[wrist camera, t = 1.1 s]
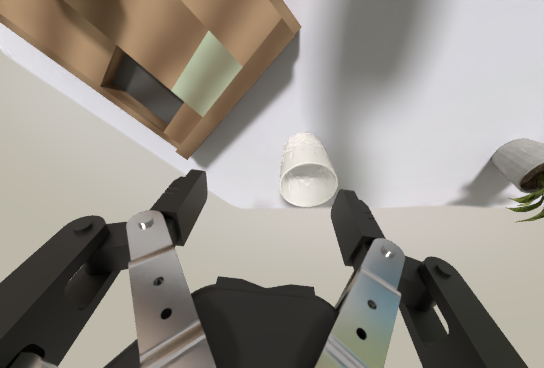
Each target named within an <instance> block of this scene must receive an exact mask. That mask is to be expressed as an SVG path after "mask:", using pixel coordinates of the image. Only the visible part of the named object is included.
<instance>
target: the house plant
mask: <svg viewBox="0 0 544 368" xmlns="http://www.w3.org/2000/svg"><path fill="white" fill-rule="evenodd" d="M492 163H493V164H494V165H495V166H496V167H497V168H498V169H499V170H500V171H501V172H502V173H503V174H504V175H505V176H506V177H507V178H508V179H509V180H510V181H511V182H512V183H513V184H514V185H515V186H516V187H517V188H518V189H519V190H520V191H521V192H524V193H532V194H529V195H527V196H524V197H521V198H516V199H512V200H514V201H517V202H519V203H524V204H521V205H517V206H524V207H519V208H509V209H510V210H513V211H516V212H527V211H530V210H533V209H535V208H538V207H539V206H540V205H541V204H542V202H543V200H544V194H543V193H544V144H543V143H540V142H536V141H533V140H529V139H517V140H514V141H511V142H509V143H506V144H505V145H503V146H502V147H500V148H499V149H498V150H497V151H496V152H495V153H494V155H493V157H492ZM541 195H542V198H541V200H540V201H539V202H538V203H536V204H533V205H529V204H531V203H532V201H534V200H535V199H537V198H539V197H540V196H541ZM508 199H509V198H508ZM527 202H528V203H527ZM525 205H529V206H525ZM505 208H506V207H505ZM543 217H544V209H543V210H542V212H541V213H539V214H538V215H536V216H534V217H532V218H530V219H527V220H522V221H533V220H536V219H540V218H543ZM522 221H518V222H522Z"/></svg>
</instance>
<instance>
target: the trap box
mask: <svg viewBox="0 0 544 368" xmlns="http://www.w3.org/2000/svg"><path fill="white" fill-rule="evenodd" d="M0 23H2V24H3V25H5V26H6V27H7V28H9V29H10V30H12V31H13V32H14V33H16V34H17V35H19V36H20V37H21V38H23V39H24V40H26V41H27V42H28V43H30V44H31V45H33V46H34V47H35V48H37V49H38V50H40V51H41V52H42V53H44V54H45V55H47V56H48V57H49V58H51V59H52V60H54V61H55V62H57V63H58V64H59V65H61V66H62V67H64V68H65V69H66V70H68V71H69V72H71V73H72V74H73V75H75V76H76V77H78V78H79V79H80V80H82V81H83V82H85V83H86V84H87V85H89V86H90V87H92V88H93V89H94V90H96V91H97V92H99V93H100V94H101V95H103V96H104V97H106V98H107V99H108V100H110V101H111V102H113V103H114V104H115V105H117V106H118V107H120V108H121V109H122V110H124V111H125V112H127V113H128V114H129V115H131V116H132V117H134V118H135V119H136V120H138V121H139V122H141V123H142V124H143V125H145V126H146V127H148V128H149V129H150V130H152V131H153V132H155V133H156V134H157V135H159V136H160V137H162V138H163V139H164V140H166V141H167V142H169V143H170V144H171V145H173V146H174V147H176V148H177V150H176V152H177V153H178V154H180V155H181V156H182V157H184V158H185V159H187V160H188V158H189V157H190V156H191V155H192V154H193V153H194V152H195V150H196V149H197V148H198V147H199V146H200V145H201V144H202V142H203V141H204V140H205V139H206V138H207V137H208V135H209V134H210V133H211V132H212V131H213V130H214V129H215V127H216V126H217V125H218V124H219V123H220V122H221V121H222V119H223V118H224V117H225V116H226V115H227V114H228V112H229V111H230V110H231V109H232V108H233V107H234V106H235V104H236V103H237V102H238V101H239V100H240V99H241V98H242V96H243V95H244V94H245V93H246V92H247V91H248V90H249V88H250V87H251V86H252V85H253V84H254V83H255V81H256V80H257V79H258V78H259V77H260V76H261V75H262V73H263V72H264V71H265V70H266V69H267V68H268V67H269V65H270V64H271V63H272V62H273V61H274V60H275V58H276V57H277V56H278V55H279V54H280V53H281V52H282V50H283V49H284V48H285V47H286V46H287V45H288V44H289V42H290V41H291V40H292V39H293V38H294V37H295V34H296V33H297V31H298V30H299V29H300V28H301V25H300V24H299V23H298V21H297V20H296V18H295V17H294V15H293V14H292V13H291V11H290V10H289V8H288V7H287V5H286V4H285V3H284V1H283V0H0Z"/></svg>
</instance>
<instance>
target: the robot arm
mask: <svg viewBox="0 0 544 368" xmlns="http://www.w3.org/2000/svg"><path fill="white" fill-rule="evenodd" d="M206 200H207V179H206V172H205V171H201V170H193V169H192V170H190V172H189V173H188V174H187V175H186V177H180V178H178V179H176V180H174V181H173V182H172V183H171V185H170V186H169V188H167V189H166V191H165V193H163V194H162V195H161V197H160V198H159V199H158V200H157V202H156V203H155V204H154V205H153V207H152V208H151V209H150V210H149V211H143V212H140V213H138V214H136V215H134V216H132V218H130V219H129V220H128V222H121V223H112V224H106V223H105V220H104V219H103V218H102V217H100V216H86V217H82V218H79V219H76V220H74V221H72V222H70V223H68V224H67V225H66V226H64V227H63V228H62V229H61V230H60V231H59V232H57V233H56V234H55V235H54V236H53V237H52V238H51V239H50V240H49V241H47V242H46V243H45V244H44V245H43V246H42V247H41V248H39V249H38V250H37V251H36V252H35V253H34V254H33V255H31V256H30V257H29V258H28V259H27V260H26V261H25V262H23V263H22V264H21V265H20V266H19V267H18V268H17V269H16V270H14V271H13V272H12V273H11V274H10V275H9V276H8V277H6V278H5V279H4V280H3V281H2V282H1V283H0V368H58V365H59V364H60V362H61V361H62V359H63V358H64V356H65V355H66V353H67V352H68V350H69V349H70V347H71V346H72V344H73V343H74V341H75V340H76V338H77V337H78V335H79V333H80V332H81V330H82V329H83V327H84V326H85V324H86V323H87V321H88V320H89V318H90V317H91V315H92V314H93V312H94V311H95V309H96V308H97V306H98V305H99V303H100V301H101V300H102V298H103V297H104V295H105V294H106V292H107V291H108V289H109V288H110V286H111V285H112V283H113V282H114V280H115V278H116V277H117V275H118V274H119V273H120V271H121V270H124V269H129V276H130V283H131V292H132V299H133V308H134V315H135V323H136V331H137V340H135V341H134V342H133V343H132V344H131V345H129V346H128V347H127V348H126V349H125V350H124V351H122V352H121V353H120V354H119V355H118V356H116V357H115V358H114V359H113V360H112V361H111V362H109V363H108V364H107V365H106V366H105V367H104V368H384V364H385V360H386V356H387V352H388V348H389V344H390V339H391V335H392V332H393V327H394V323H395V319H396V315H397V311H398V307H399V309H400V311H401V314H402V316H403V319H404V321H405V324H406V326H407V328H408V331H409V334H410V336H411V339H412V341H413V344H414V346H415V349H416V351H417V354H418V356H419V359H420V361H421V363H422V366H423V368H528V367H527V365H526V364H525V362H524V361H523V360H522V358H521V357H520V356H519V354H518V353H517V352H516V350H515V349H514V347H513V346H512V345H511V343H510V342H509V341H508V339H507V338H506V337H505V335H504V334H503V332H502V331H501V330H500V328H499V327H498V326H497V324H496V323H495V322H494V320H493V319H492V318H491V316H490V315H489V313H488V312H487V311H486V309H485V308H484V307H483V305H482V304H481V303H480V301H479V300H478V299H477V297H476V296H475V294H474V293H473V292H472V290H471V289H470V288H469V286H468V285H467V283H466V282H465V281H464V279H463V278H462V277H461V275H460V274H459V273H458V271H457V270H456V269H455V268H454V267H453V266H451V265H450V264H449V263H447V262H446V261H444V260H442V259H440V258H437V257H427V258H426V259H425V260H424V261H423V262H421V261H418V260H415V259H413V258H410V257H407V256H405V255H404V253H403V251H402V250H401V249H400V247H399V246H397V245H396V244H395V243H393V242H392V241H389V240H387V239H386V238H385V237H384V235H383V233H382V231H381V229H380V227H379V226H378V224H377V222H376V221H375V220H374V219H375V218H374V217H373V215H372V214H371V211H370V209H369V207H368V206H367V205H366V204H365V203H364V202H363V201H362V200H358V198H357V196H356V194H355V192H354V191H351V190H343V189H340V190H339V192H338V194H337V197H336V199H335V202H334V204H333V207H332V209H331V219H332V223H333V226H334V230H335V233H336V237H337V240H338V244H339V247H340V250H341V254H342V257H343V261H344V264H345V266H353V268H354V272H353V273H352V275H351V277H350V279H349V281H348V283H347V285H346V287H345V289H344V291H343V292H342V294H341V297H340V298H339V300H338V302H337V304H336V305H335V307H333V306H332V305H331V304H329V303H328V302H327V301H325V300H324V299H322V298H320V297H318V296H316V295H315V292H314V287H309V286H300V285H284V286H278V287H272V288H264V287H261V286H258V285H256V284H253V283H250V282H248V281H246V280H243V279H236V278H228V277H218V278H217V282H216V284H213V285H209V286H205V287H203V288H200V289H199V290H196V291H195V292H193V293H191V294H190V291H189V288H188V285H187V282H186V279H185V276H184V273H183V270H182V268H181V265H180V262H179V259H178V256H177V253H176V250H175V246H176V245H177V246H184V244H185V242H186V240H187V238H188V236H189V234H190V232H191V230H192V228H193V226H194V224H195V222H196V220H197V218H198V216H199V214H200V212H201V210H202V208H203V206H204V204H205V202H206ZM81 266H82V267H81ZM77 271H78V272H77ZM76 272H77V273H76ZM75 273H76V274H75ZM72 277H73V278H72ZM71 278H72V279H71ZM70 279H71V280H70ZM435 305H437V306H438V308H439V309H440V311H441V313H442V315H443V316H444V318H445V320H446V322H447V324H448V328H449V334H447V332H446V330H445V329H444V327H443V325H442V323H441V321H440V320H439V317H438V315H437V314H436V312H435V310H434V308H433V307H434V306H435Z"/></svg>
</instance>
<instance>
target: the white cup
mask: <svg viewBox="0 0 544 368" xmlns="http://www.w3.org/2000/svg"><path fill="white" fill-rule="evenodd" d="M337 188H338V178H337V175H336V173H335V171H334V168H333V166H332V164H331V161H330V159H329V157H328V155H327V152H326V150H325V149H324V147H323V145H322V143H321V141H320V139H318V138H317V137H316V136H315V135H314V134H310V133H306V132H304V133H298V134H295V135H294V136H292V137H291V138H289V139H288V140H287V142H286V144H285V145H284V152H283V156H282V162H281V171H280V181H279V190H280V193H281V195H282V197H283V198H284V199H285V200H286V201H287V202H289V203H291V204H293V205H295V206H299V207H314V206H318V205H321V204H323V203H325V202H327V201H328V200H329V199H330V198H332V197H333V195H334V194H335V193H336V191H337Z"/></svg>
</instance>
